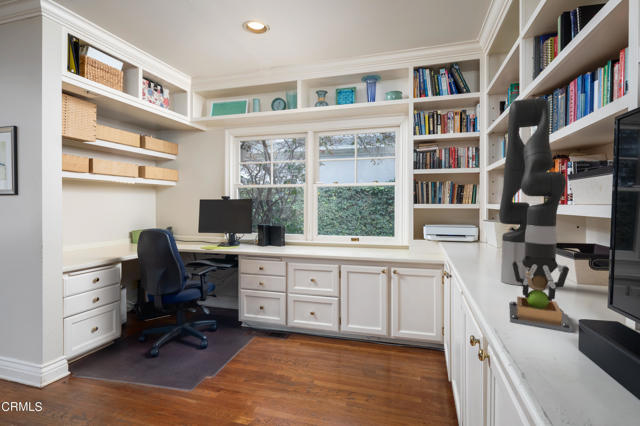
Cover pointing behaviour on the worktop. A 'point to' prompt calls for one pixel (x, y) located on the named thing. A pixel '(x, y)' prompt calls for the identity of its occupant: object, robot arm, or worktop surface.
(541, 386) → the worktop surface
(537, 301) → the snail figurine
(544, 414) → the worktop surface
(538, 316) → the socket plate
